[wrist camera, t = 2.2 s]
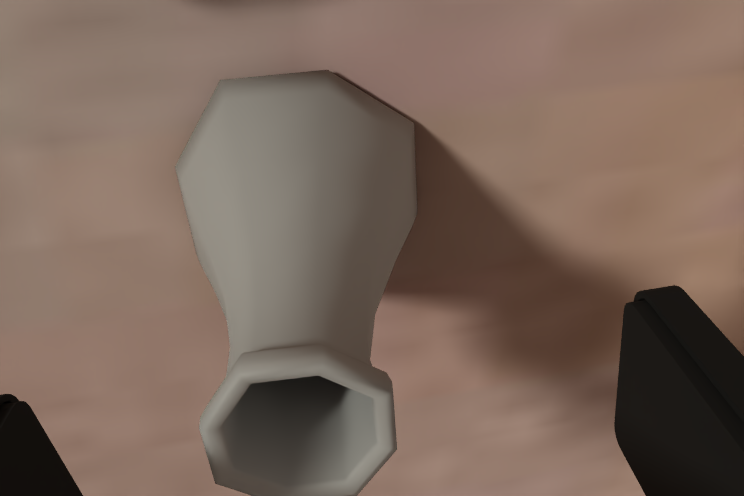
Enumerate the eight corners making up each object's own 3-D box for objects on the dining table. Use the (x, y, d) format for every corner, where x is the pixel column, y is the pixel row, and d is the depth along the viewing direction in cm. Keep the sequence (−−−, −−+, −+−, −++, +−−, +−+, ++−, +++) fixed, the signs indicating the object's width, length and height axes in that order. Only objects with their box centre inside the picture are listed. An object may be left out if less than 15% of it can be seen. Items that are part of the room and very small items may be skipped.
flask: (451, 96, 18) (597, 288, 9) (386, 303, 21) (446, 590, 12) (191, 35, 16) (63, 194, 7) (164, 269, 19) (54, 567, 11)
